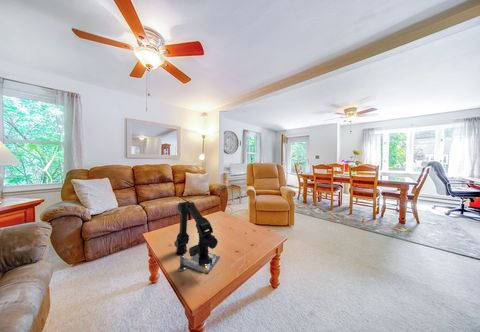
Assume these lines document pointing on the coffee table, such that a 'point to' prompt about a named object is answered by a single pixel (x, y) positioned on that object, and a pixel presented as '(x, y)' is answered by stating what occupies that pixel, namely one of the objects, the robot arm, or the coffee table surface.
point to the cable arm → (195, 265)
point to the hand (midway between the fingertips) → (203, 265)
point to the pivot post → (181, 264)
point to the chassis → (209, 266)
